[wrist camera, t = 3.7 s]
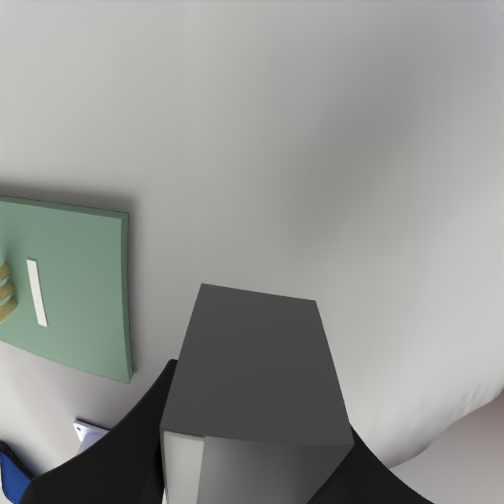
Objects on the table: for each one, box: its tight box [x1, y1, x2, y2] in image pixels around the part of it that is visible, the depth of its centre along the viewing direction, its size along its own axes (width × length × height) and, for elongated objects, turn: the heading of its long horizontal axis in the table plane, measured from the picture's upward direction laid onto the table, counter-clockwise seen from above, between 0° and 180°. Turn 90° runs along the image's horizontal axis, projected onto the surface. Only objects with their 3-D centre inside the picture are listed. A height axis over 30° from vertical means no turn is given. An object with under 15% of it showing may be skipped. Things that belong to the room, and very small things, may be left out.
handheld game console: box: [0, 442, 36, 504], centre depth 29 cm, size 16×13×9 cm
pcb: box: [0, 196, 133, 384], centre depth 16 cm, size 12×18×4 cm, turn 80°
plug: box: [160, 283, 355, 504], centre depth 9 cm, size 6×4×6 cm, turn 170°
